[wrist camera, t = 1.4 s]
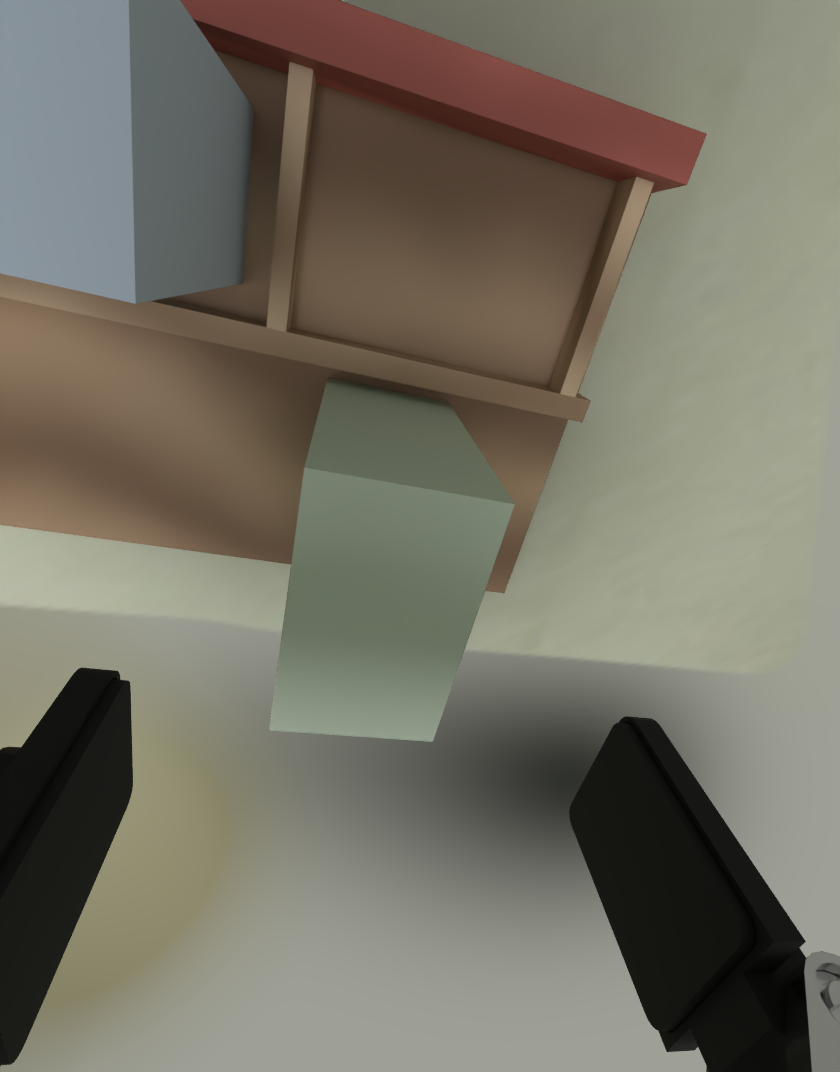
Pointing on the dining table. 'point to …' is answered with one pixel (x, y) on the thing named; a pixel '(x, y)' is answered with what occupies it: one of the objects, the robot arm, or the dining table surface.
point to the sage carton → (384, 565)
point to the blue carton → (120, 150)
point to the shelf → (341, 287)
